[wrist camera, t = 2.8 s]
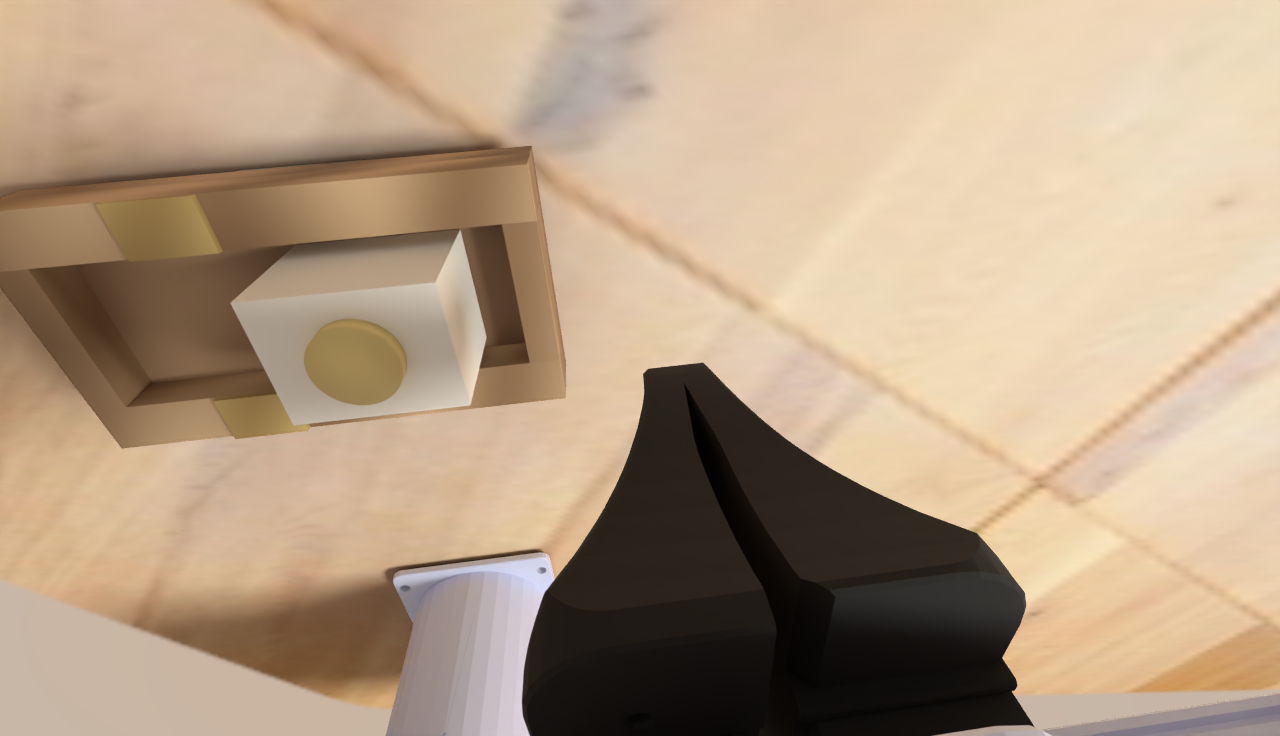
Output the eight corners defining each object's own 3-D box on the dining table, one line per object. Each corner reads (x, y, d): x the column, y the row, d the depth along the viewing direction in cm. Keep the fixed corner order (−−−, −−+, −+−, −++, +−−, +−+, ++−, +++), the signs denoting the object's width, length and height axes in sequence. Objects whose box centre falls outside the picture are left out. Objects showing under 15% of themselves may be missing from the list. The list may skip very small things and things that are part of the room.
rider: (460, 229, 17) (431, 290, 14) (486, 337, 20) (468, 415, 16) (295, 244, 17) (219, 312, 13) (340, 352, 19) (286, 436, 16)
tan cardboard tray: (533, 138, 18) (526, 165, 15) (565, 346, 23) (565, 401, 20) (52, 179, 17) (-61, 218, 14) (182, 387, 22) (118, 452, 19)
